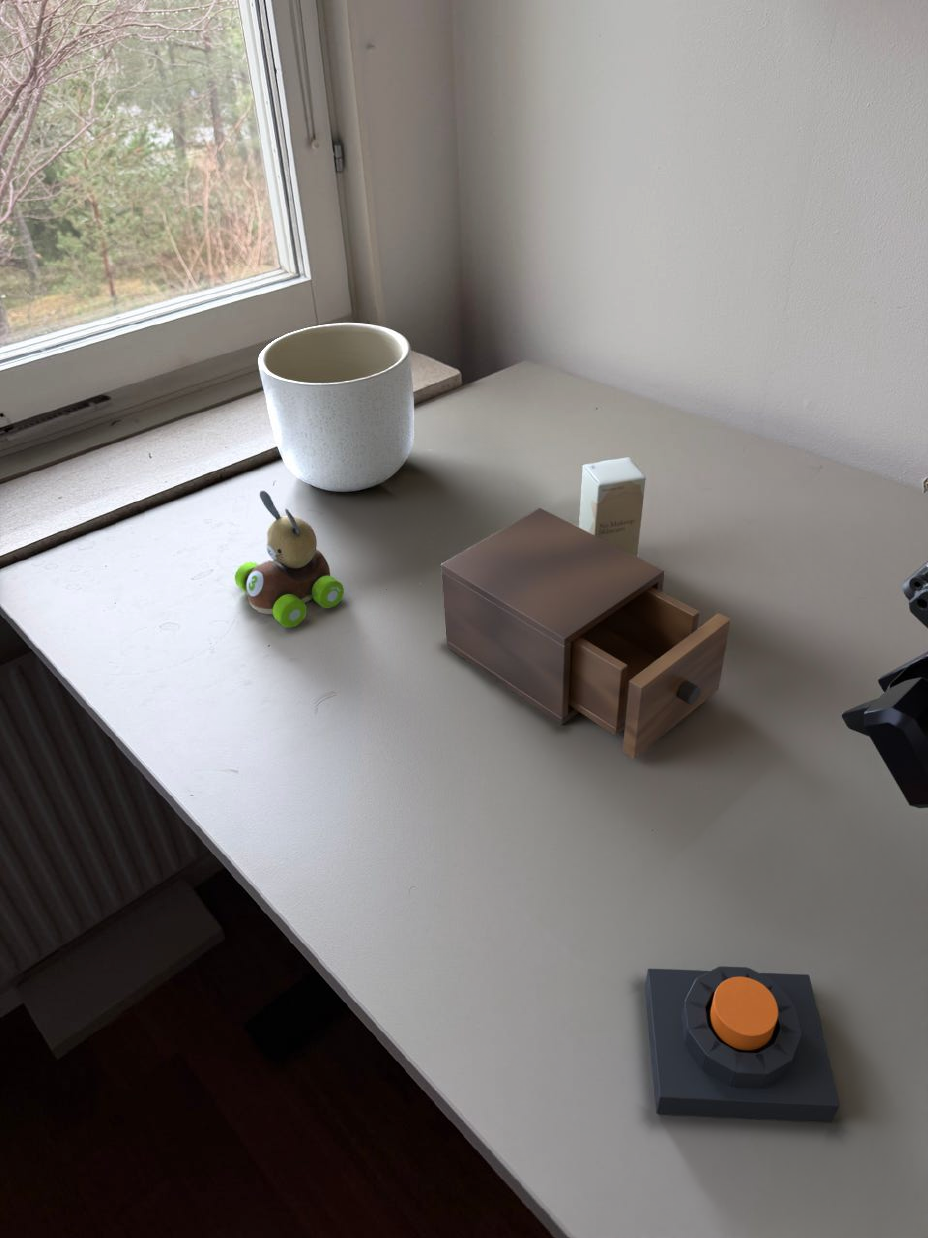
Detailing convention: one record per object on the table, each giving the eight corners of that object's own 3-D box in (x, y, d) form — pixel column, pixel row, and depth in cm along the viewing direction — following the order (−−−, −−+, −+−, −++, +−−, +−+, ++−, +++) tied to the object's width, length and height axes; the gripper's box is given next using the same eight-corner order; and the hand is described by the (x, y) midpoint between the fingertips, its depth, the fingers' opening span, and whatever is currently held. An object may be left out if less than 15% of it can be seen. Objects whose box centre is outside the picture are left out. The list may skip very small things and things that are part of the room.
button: (767, 993, 56) (772, 977, 55) (778, 1052, 53) (784, 1037, 52) (706, 990, 56) (709, 975, 55) (714, 1049, 54) (718, 1034, 53)
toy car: (231, 594, 96) (208, 500, 89) (304, 559, 100) (287, 468, 93) (277, 636, 90) (257, 540, 83) (353, 598, 94) (339, 503, 87)
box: (590, 579, 95) (595, 485, 88) (575, 556, 98) (579, 463, 91) (639, 570, 96) (647, 475, 89) (622, 547, 99) (629, 454, 92)
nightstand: (655, 655, 86) (665, 570, 80) (561, 725, 79) (564, 639, 73) (539, 588, 94) (540, 507, 88) (446, 647, 88) (440, 563, 82)
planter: (440, 488, 110) (432, 365, 101) (299, 522, 106) (276, 397, 96) (394, 426, 123) (383, 312, 113) (266, 455, 118) (244, 338, 108)
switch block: (802, 992, 60) (814, 958, 57) (832, 1123, 54) (847, 1091, 51) (644, 986, 61) (649, 952, 58) (656, 1114, 55) (662, 1082, 52)
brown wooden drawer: (730, 696, 80) (743, 625, 75) (646, 767, 74) (654, 696, 69) (598, 620, 88) (602, 552, 84) (513, 679, 83) (512, 609, 78)
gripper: (1102, 455, 53) (874, 540, 67) (949, 600, 44) (720, 665, 57) (1197, 623, 54) (952, 674, 67) (1065, 803, 44) (810, 821, 58)
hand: (864, 702), depth 62 cm, fingers open, 4 cm apart
